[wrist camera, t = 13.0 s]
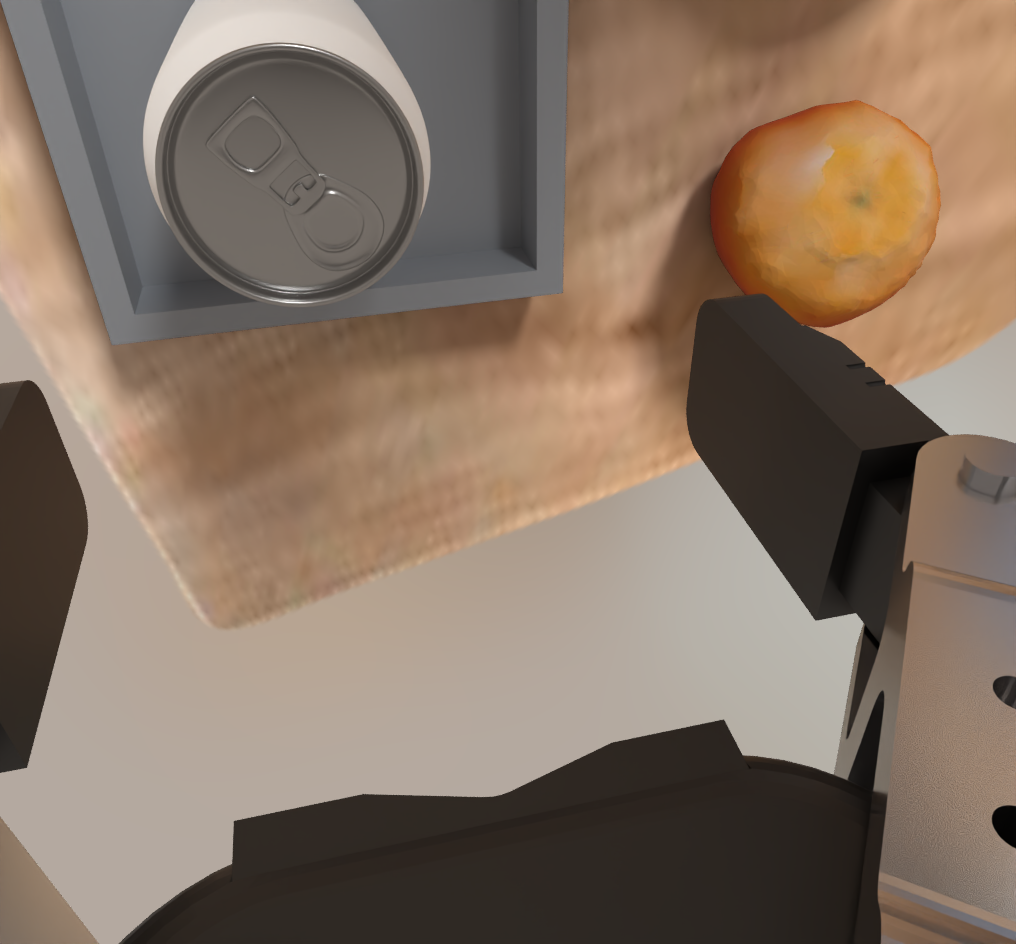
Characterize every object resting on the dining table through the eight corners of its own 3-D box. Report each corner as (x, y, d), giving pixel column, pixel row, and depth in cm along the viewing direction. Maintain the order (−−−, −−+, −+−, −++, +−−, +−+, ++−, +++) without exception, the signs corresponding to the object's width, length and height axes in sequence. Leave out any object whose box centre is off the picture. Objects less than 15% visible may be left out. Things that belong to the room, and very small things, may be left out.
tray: (544, -259, 25) (573, -271, 23) (542, 262, 34) (562, 293, 32) (-51, -259, 22) (-88, -272, 20) (123, 308, 32) (111, 345, 29)
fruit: (705, 356, 37) (783, 345, 29) (660, 174, 36) (728, 111, 28) (878, 307, 38) (1000, 283, 30) (838, 127, 37) (952, 53, 29)
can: (289, 213, 30) (301, 375, 21) (132, 63, 27) (61, 178, 17) (423, 83, 29) (501, 194, 20) (277, -94, 25) (285, -62, 16)
